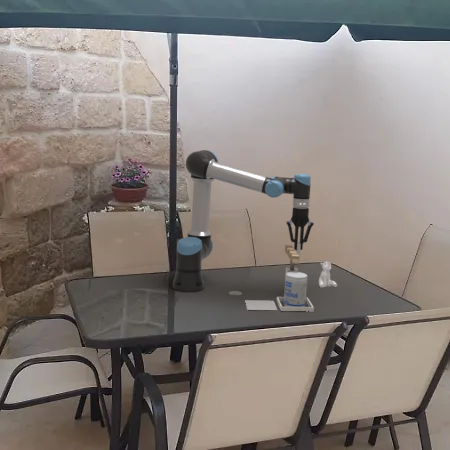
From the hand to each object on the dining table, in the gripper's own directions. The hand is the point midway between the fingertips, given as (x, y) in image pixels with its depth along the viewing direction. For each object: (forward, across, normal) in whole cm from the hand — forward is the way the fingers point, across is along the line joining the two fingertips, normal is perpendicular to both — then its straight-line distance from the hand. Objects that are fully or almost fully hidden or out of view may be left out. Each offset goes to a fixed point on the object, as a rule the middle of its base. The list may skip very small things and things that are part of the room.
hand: (297, 256), depth 284 cm
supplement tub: (+18, -4, -22) cm, 29 cm away
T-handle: (+3, -4, -8) cm, 10 cm away
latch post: (+17, -4, -11) cm, 21 cm away
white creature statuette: (+18, +17, +12) cm, 27 cm away
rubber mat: (+17, -19, -22) cm, 34 cm away
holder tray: (+17, -4, -22) cm, 29 cm away
